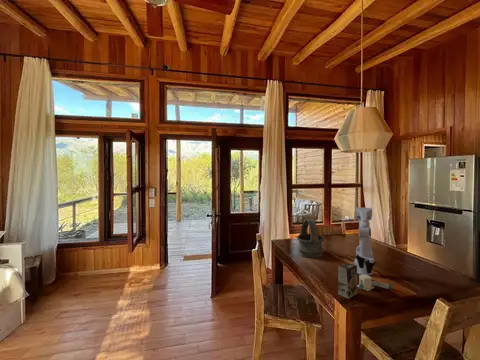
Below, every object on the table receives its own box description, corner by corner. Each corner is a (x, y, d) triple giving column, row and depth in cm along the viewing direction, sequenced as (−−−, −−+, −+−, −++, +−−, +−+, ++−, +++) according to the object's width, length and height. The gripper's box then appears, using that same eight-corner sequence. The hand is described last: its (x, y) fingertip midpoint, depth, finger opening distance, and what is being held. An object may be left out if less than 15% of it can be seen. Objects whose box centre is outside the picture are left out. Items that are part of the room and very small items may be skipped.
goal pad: (356, 286, 143) (356, 285, 143) (363, 283, 147) (363, 282, 147) (367, 291, 137) (367, 290, 137) (374, 287, 141) (374, 287, 141)
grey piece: (355, 285, 144) (355, 280, 144) (388, 285, 143) (388, 280, 143) (359, 289, 139) (359, 284, 139) (393, 290, 138) (393, 284, 138)
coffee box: (348, 299, 129) (348, 269, 129) (337, 294, 134) (337, 265, 134) (357, 293, 134) (357, 265, 134) (346, 289, 139) (346, 262, 139)
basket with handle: (296, 258, 193) (296, 221, 192) (297, 249, 215) (296, 216, 215) (325, 260, 187) (325, 221, 187) (322, 250, 210) (322, 216, 209)
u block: (364, 288, 139) (364, 278, 139) (359, 284, 144) (359, 275, 144) (371, 288, 140) (371, 277, 140) (366, 284, 145) (366, 274, 145)
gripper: (379, 251, 134) (379, 275, 135) (364, 243, 149) (364, 265, 149) (367, 251, 134) (367, 275, 134) (353, 244, 149) (353, 266, 149)
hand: (365, 270), depth 142 cm, fingers open, 7 cm apart
